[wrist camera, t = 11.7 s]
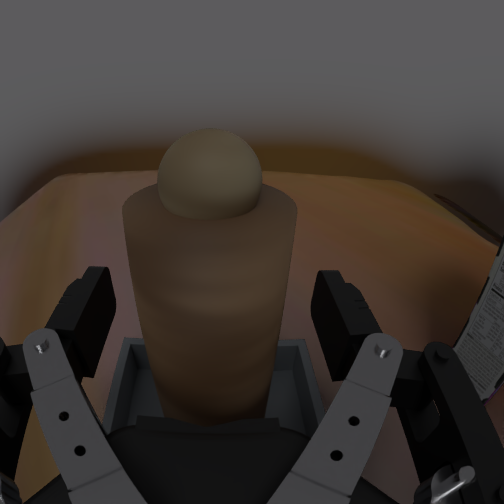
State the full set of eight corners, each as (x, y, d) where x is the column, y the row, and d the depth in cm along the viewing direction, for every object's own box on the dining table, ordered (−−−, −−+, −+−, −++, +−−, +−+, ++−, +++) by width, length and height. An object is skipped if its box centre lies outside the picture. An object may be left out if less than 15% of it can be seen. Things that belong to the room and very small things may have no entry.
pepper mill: (255, 399, 17) (286, 122, 10) (264, 471, 13) (332, 152, 6) (174, 399, 17) (142, 121, 9) (169, 471, 13) (85, 150, 5)
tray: (296, 369, 20) (304, 339, 19) (327, 507, 12) (345, 492, 10) (133, 368, 19) (124, 337, 18) (110, 507, 11) (90, 491, 9)
